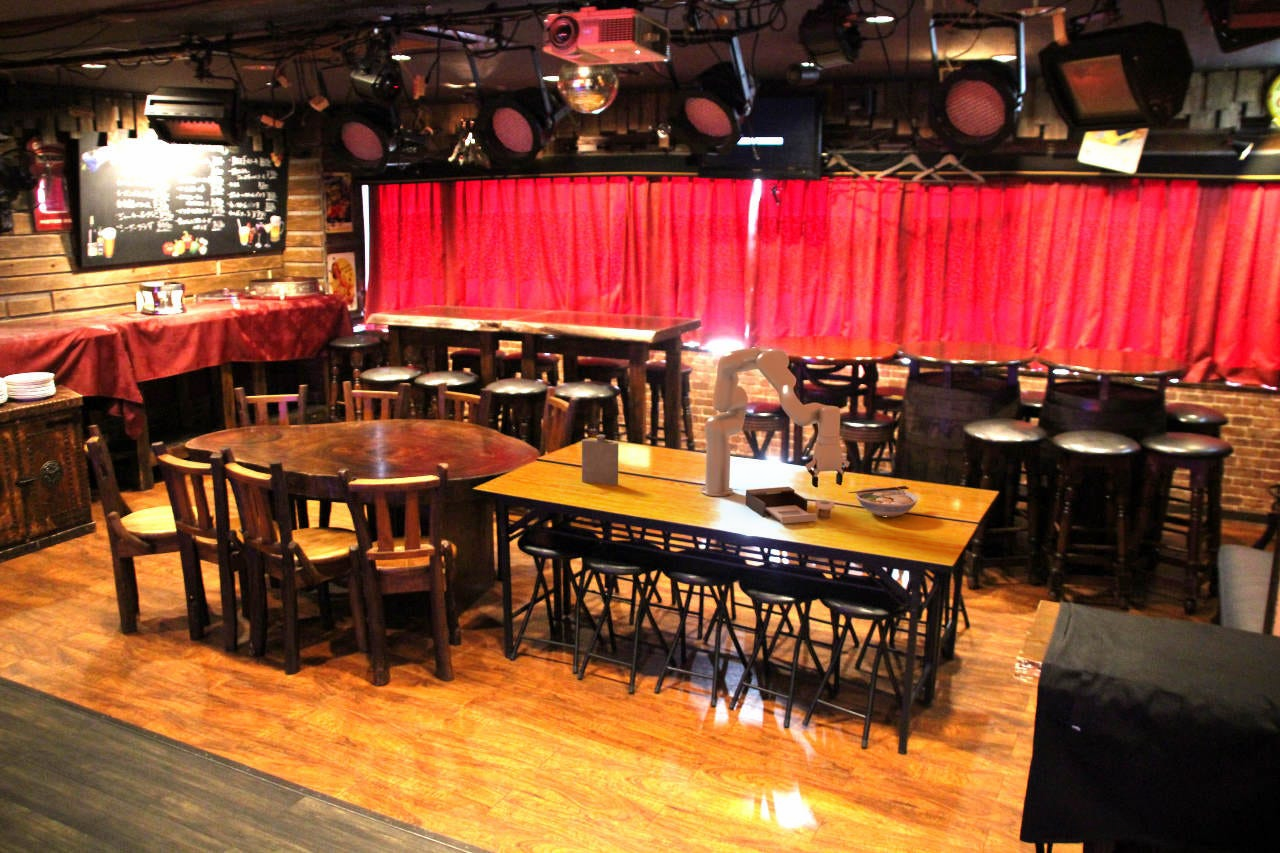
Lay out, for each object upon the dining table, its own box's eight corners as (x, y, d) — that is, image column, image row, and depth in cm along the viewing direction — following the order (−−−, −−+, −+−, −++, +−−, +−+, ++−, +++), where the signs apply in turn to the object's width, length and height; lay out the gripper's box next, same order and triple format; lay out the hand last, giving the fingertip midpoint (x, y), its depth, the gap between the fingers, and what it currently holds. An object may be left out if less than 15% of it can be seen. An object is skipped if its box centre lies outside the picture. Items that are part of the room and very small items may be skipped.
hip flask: (580, 481, 429) (580, 434, 425) (584, 479, 433) (584, 432, 429) (616, 486, 424) (616, 438, 419) (620, 483, 427) (620, 436, 423)
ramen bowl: (870, 526, 377) (871, 504, 375) (841, 508, 398) (842, 487, 396) (931, 521, 384) (933, 500, 382) (899, 503, 405) (901, 483, 403)
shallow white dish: (811, 505, 388) (811, 500, 387) (828, 503, 390) (828, 499, 390) (820, 510, 381) (820, 506, 381) (837, 508, 383) (837, 504, 383)
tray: (763, 511, 389) (763, 504, 389) (797, 508, 394) (797, 501, 393) (781, 523, 375) (782, 516, 374) (816, 520, 379) (817, 513, 378)
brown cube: (816, 516, 388) (816, 505, 387) (826, 515, 389) (827, 504, 388) (821, 519, 384) (822, 509, 383) (832, 518, 385) (832, 508, 384)
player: (745, 505, 400) (746, 489, 399) (788, 501, 406) (788, 486, 404) (762, 517, 385) (763, 501, 384) (806, 513, 391) (807, 497, 390)
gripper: (844, 436, 386) (843, 481, 390) (802, 439, 381) (801, 485, 384) (855, 440, 379) (853, 486, 383) (812, 443, 374) (810, 490, 377)
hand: (827, 485), depth 384 cm, fingers open, 9 cm apart
